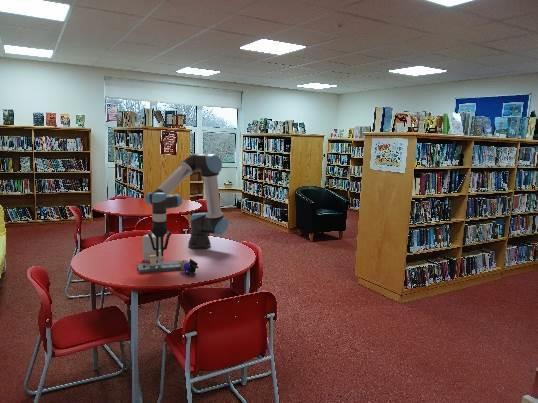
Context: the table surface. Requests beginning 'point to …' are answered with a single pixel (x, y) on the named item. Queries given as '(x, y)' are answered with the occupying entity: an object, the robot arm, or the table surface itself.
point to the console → (159, 267)
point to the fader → (153, 260)
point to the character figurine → (189, 266)
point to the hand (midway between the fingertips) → (159, 261)
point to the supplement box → (150, 247)
